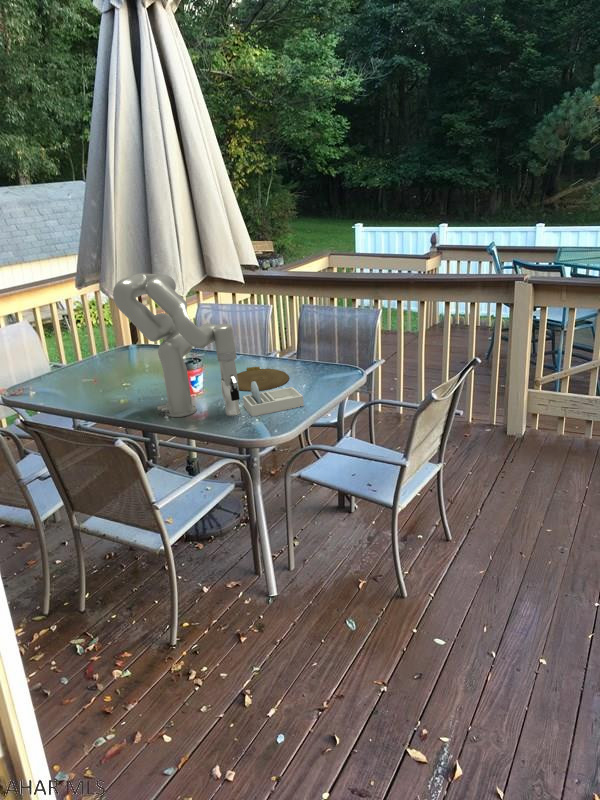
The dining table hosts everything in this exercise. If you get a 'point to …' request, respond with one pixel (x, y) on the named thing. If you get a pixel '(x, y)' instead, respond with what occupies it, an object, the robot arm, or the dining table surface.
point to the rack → (271, 400)
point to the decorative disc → (261, 378)
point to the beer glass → (231, 406)
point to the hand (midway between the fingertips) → (232, 396)
